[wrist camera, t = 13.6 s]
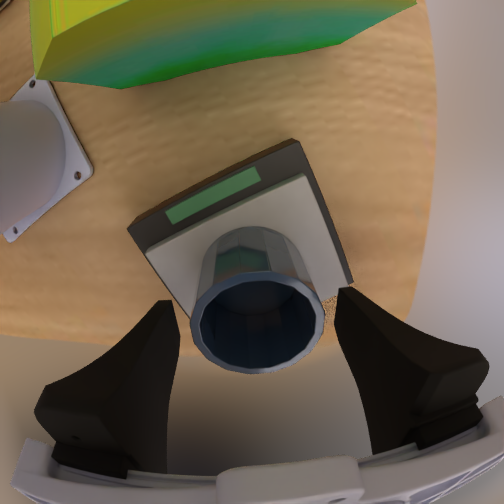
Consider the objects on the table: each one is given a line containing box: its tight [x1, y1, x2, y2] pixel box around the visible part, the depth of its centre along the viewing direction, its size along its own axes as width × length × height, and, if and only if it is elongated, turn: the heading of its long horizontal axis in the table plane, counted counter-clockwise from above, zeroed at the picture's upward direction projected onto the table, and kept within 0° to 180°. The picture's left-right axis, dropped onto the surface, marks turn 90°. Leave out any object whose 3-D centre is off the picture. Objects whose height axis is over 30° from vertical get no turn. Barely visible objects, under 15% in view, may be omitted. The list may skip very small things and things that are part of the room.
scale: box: [127, 138, 354, 319], centre depth 17 cm, size 10×9×3 cm
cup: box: [190, 226, 325, 374], centre depth 14 cm, size 5×5×4 cm
